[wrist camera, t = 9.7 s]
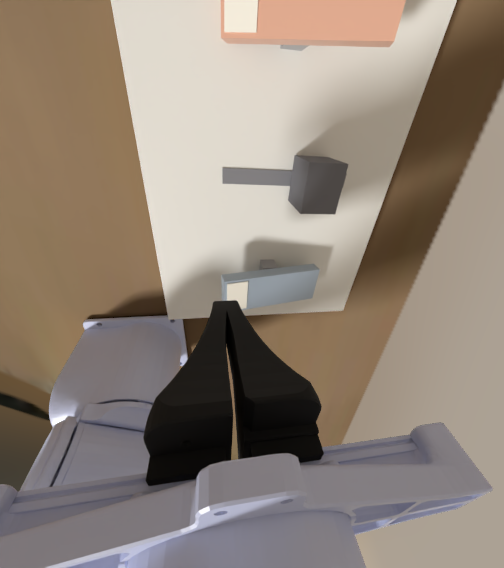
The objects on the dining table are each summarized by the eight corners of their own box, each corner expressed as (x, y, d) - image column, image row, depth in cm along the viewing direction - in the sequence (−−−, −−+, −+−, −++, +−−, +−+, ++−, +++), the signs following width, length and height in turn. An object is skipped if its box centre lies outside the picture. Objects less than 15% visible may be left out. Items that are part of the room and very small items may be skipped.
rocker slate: (221, 305, 20) (224, 313, 19) (221, 274, 18) (224, 282, 17) (306, 291, 22) (312, 298, 21) (313, 263, 20) (320, 270, 20)
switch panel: (171, 306, 25) (166, 330, 22) (90, -181, 10) (44, -296, 7) (335, 298, 27) (349, 319, 25) (463, -88, 13) (533, -145, 10)
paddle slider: (287, 200, 18) (300, 213, 15) (294, 155, 16) (309, 162, 14) (318, 201, 18) (335, 214, 16) (327, 156, 17) (348, 164, 14)
